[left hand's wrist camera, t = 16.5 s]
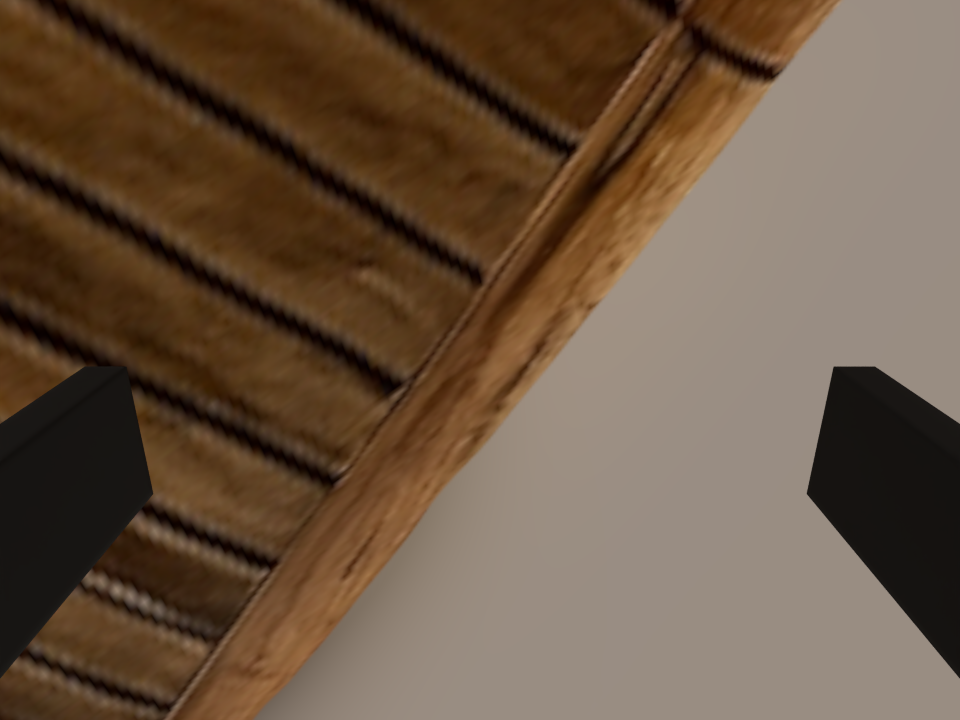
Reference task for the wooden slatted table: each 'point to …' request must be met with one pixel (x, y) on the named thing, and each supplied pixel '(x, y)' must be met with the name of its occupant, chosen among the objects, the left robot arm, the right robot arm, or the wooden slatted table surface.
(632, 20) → the wooden slatted table surface
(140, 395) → the wooden slatted table surface
